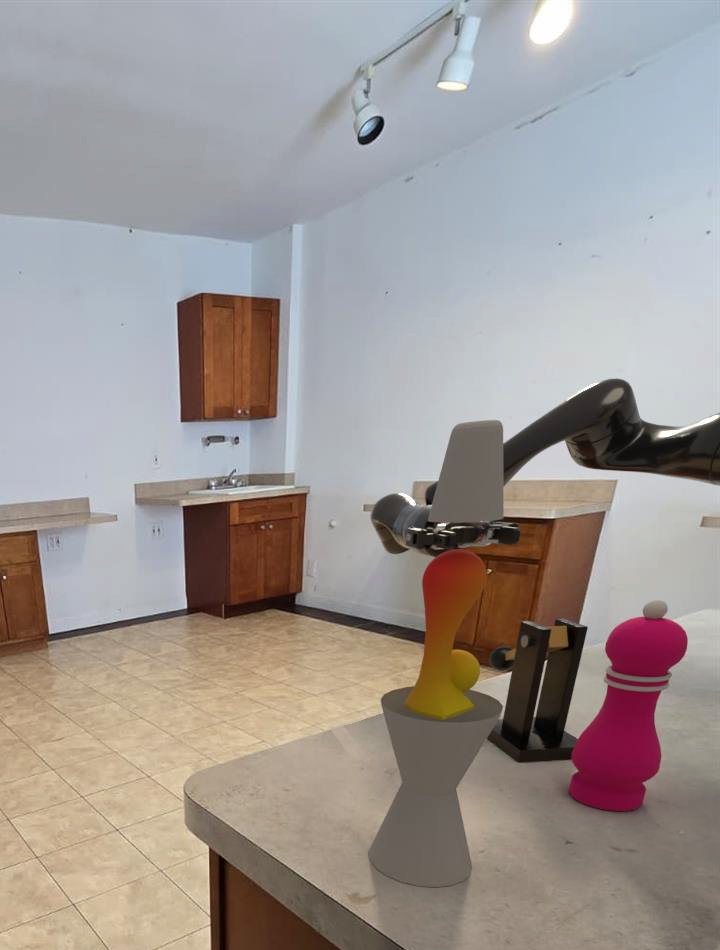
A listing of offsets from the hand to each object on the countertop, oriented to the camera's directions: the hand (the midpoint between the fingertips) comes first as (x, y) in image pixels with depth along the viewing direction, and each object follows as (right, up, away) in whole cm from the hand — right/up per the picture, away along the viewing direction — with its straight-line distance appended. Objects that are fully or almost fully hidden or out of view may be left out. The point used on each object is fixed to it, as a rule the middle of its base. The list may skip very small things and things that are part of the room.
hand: (484, 539), depth 87 cm
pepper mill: (+1, -35, -21) cm, 41 cm away
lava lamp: (-22, -40, -29) cm, 54 cm away
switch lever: (0, -18, -9) cm, 20 cm away
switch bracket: (+1, -28, -8) cm, 30 cm away
